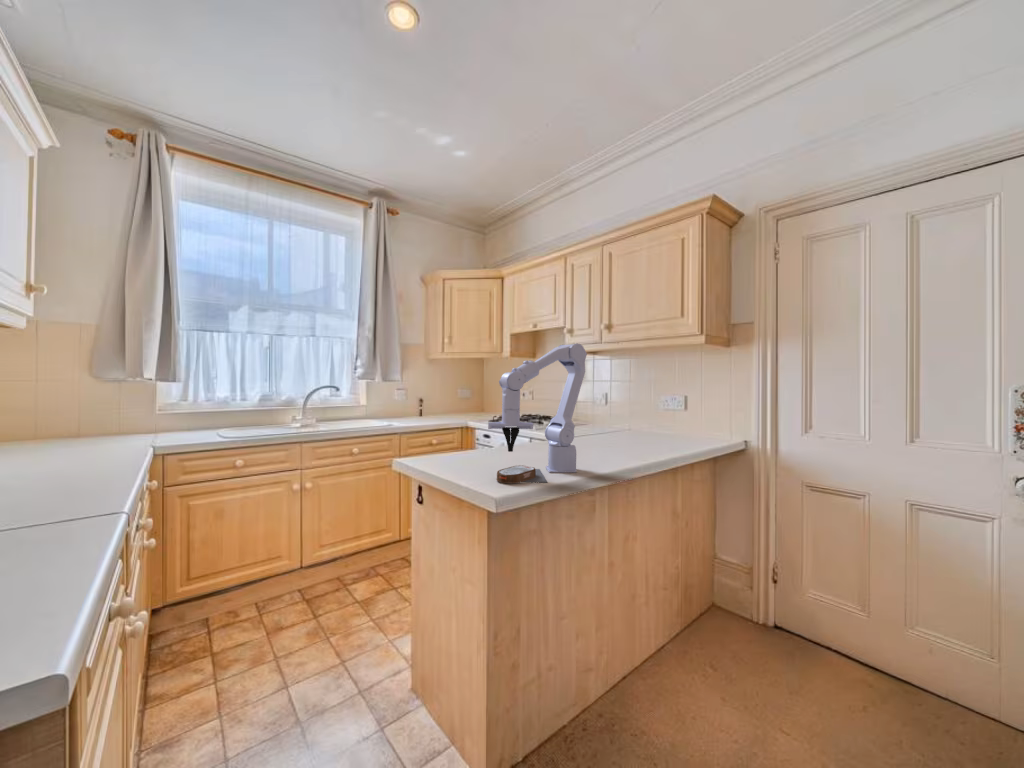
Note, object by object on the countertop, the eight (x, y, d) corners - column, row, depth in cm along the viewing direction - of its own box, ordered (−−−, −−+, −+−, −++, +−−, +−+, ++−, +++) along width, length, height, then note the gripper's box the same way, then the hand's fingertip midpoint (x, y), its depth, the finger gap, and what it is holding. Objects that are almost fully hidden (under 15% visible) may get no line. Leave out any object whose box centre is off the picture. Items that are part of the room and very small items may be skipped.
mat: (539, 469, 143) (539, 468, 143) (547, 482, 126) (547, 481, 126) (508, 469, 142) (508, 468, 142) (511, 482, 125) (511, 481, 125)
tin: (490, 480, 127) (512, 487, 122) (491, 470, 127) (513, 476, 121) (519, 471, 139) (540, 477, 134) (520, 462, 138) (541, 468, 133)
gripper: (531, 408, 138) (531, 448, 138) (488, 408, 137) (487, 448, 137) (534, 410, 131) (533, 452, 131) (488, 409, 130) (488, 452, 130)
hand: (510, 451), depth 134 cm, fingers closed
